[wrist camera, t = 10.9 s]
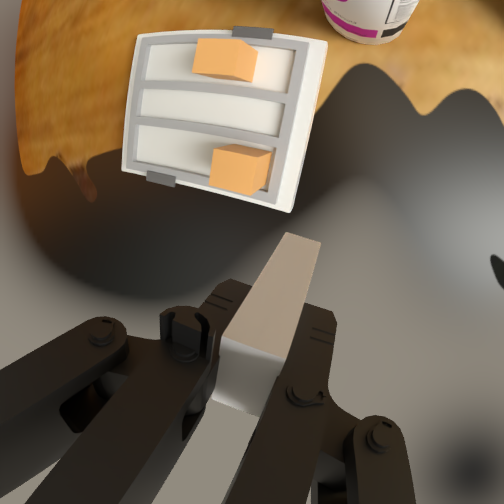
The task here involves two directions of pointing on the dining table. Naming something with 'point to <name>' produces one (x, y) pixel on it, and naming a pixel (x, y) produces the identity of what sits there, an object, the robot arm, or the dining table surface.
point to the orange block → (225, 59)
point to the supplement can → (369, 18)
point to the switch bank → (221, 110)
